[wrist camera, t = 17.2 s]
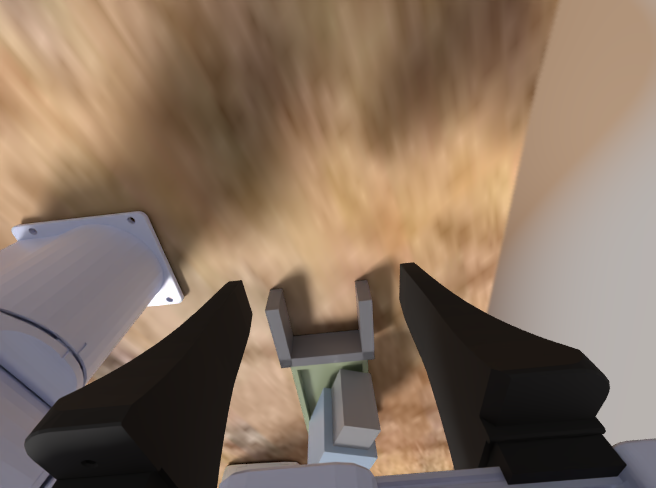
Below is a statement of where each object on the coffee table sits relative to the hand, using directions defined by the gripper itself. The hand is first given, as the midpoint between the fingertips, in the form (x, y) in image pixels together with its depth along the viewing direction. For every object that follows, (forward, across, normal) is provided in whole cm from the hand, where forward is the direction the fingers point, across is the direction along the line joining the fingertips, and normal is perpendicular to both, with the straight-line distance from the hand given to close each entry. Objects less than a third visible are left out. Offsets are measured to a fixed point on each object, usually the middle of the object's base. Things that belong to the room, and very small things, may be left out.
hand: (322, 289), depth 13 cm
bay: (+8, +1, +9) cm, 13 cm away
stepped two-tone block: (+7, 0, +19) cm, 21 cm away
